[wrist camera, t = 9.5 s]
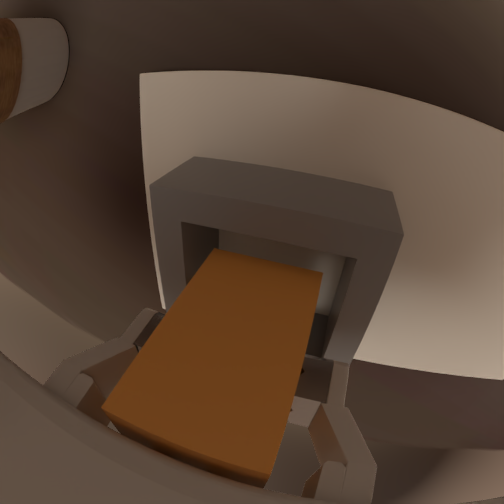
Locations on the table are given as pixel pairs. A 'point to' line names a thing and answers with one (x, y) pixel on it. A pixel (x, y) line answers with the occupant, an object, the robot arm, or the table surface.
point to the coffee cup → (30, 63)
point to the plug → (222, 367)
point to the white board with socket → (336, 208)
